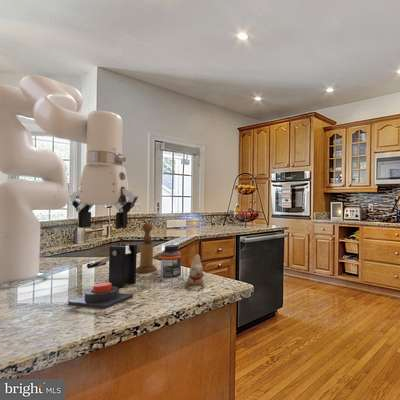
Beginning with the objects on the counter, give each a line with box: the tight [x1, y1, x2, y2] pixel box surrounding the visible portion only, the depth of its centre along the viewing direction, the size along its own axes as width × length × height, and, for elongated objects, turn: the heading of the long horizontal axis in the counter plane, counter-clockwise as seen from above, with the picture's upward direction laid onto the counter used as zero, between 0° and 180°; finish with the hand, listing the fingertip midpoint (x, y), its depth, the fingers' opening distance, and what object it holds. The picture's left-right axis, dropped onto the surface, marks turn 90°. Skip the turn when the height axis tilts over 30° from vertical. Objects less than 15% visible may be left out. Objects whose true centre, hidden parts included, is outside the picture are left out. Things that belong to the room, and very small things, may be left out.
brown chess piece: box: [136, 222, 158, 274], centre depth 97 cm, size 7×6×18 cm
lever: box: [86, 245, 131, 269], centre depth 81 cm, size 12×5×2 cm, turn 78°
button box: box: [67, 286, 134, 310], centre depth 67 cm, size 10×8×4 cm
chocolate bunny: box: [186, 254, 205, 290], centre depth 84 cm, size 6×8×10 cm
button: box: [92, 281, 112, 293], centre depth 67 cm, size 4×4×2 cm
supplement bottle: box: [160, 244, 182, 279], centre depth 91 cm, size 6×6×11 cm
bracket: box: [108, 243, 138, 289], centre depth 80 cm, size 10×8×13 cm
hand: (102, 227), depth 71 cm, fingers open, 9 cm apart
